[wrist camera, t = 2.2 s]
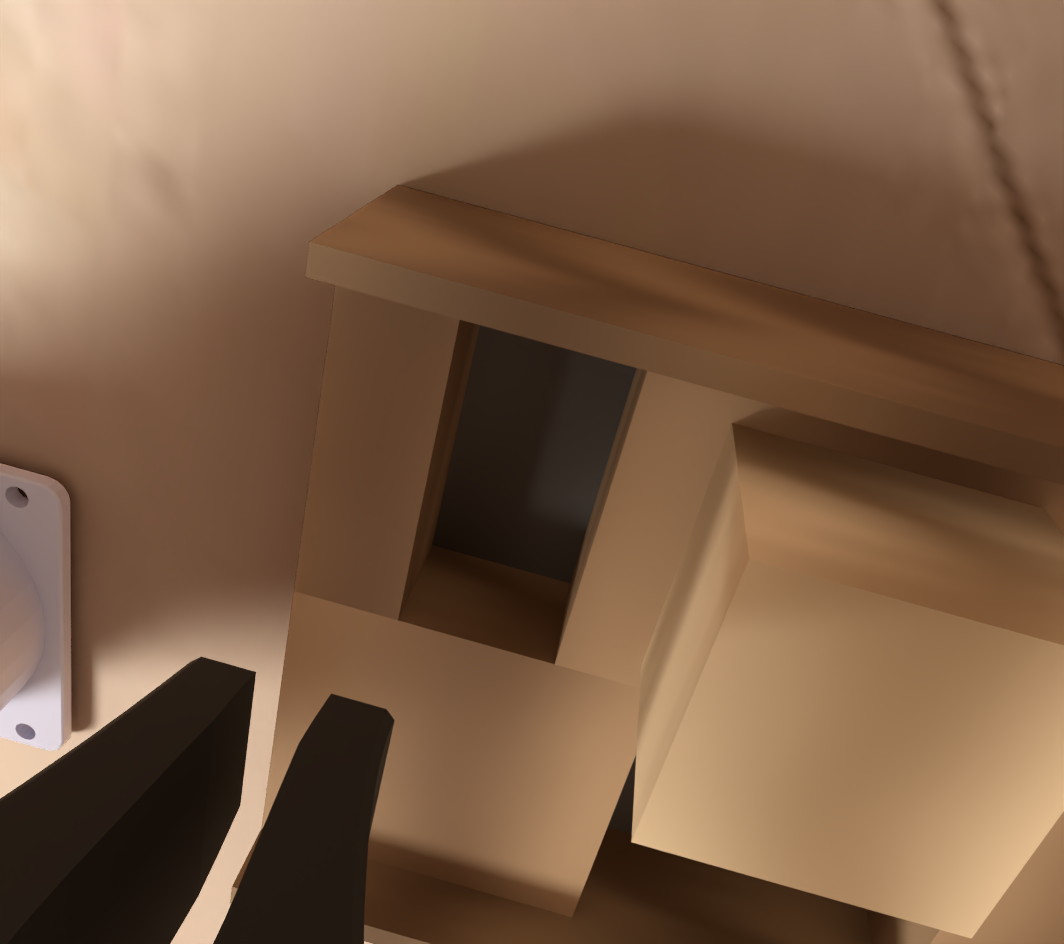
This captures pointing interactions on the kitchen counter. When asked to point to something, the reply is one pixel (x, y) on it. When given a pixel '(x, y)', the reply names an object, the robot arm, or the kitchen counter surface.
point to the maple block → (856, 685)
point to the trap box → (583, 554)
